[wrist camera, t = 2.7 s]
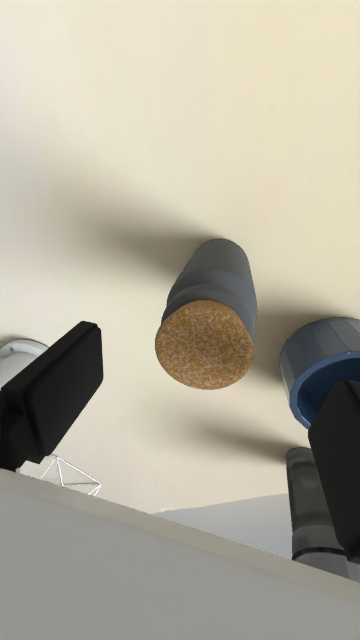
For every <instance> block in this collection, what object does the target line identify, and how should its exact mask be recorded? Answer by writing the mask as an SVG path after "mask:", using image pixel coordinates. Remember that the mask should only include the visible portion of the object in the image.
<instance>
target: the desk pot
mask: <svg viewBox="0 0 360 640" xmlns="http://www.w3.org/2000/svg"><path fill="white" fill-rule="evenodd" d="M279 365H280V372H281V376H282V380H283V383H284V387H285V391H286V395H287V399H288V403H289V407H290V409H291V411H292V413H293V415H294V417H295V419H296V420H298V421H299V422H300V423H301V424H302V425H303V426H304V427H305V428H306V429H308V430H309V427H310V426H311V424H312V422H313V421H314V419H315V417H316V416H317V414H318V412H319V411H320V409H321V407H322V406H323V404H324V402H325V401H326V399H327V397H328V395H329V394H330V392H331V390H332V389H333V387H334V385H335V384H336V383H337V382H341V381H342V380H345V379H346V380H351V381H355V382H359V383H360V320H356V319H352V318H328V319H323V320H319V321H316V322H313V323H310V324H308V325H306V326H304V327H302V328H301V329H299V330H298V331H296V332H295V333H294V334H293V335H292V336H291V337H290V338H289V339H288V340H287V342H286V343H285V344H284V346H283V348H282V350H281V354H280V359H279Z"/></svg>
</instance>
